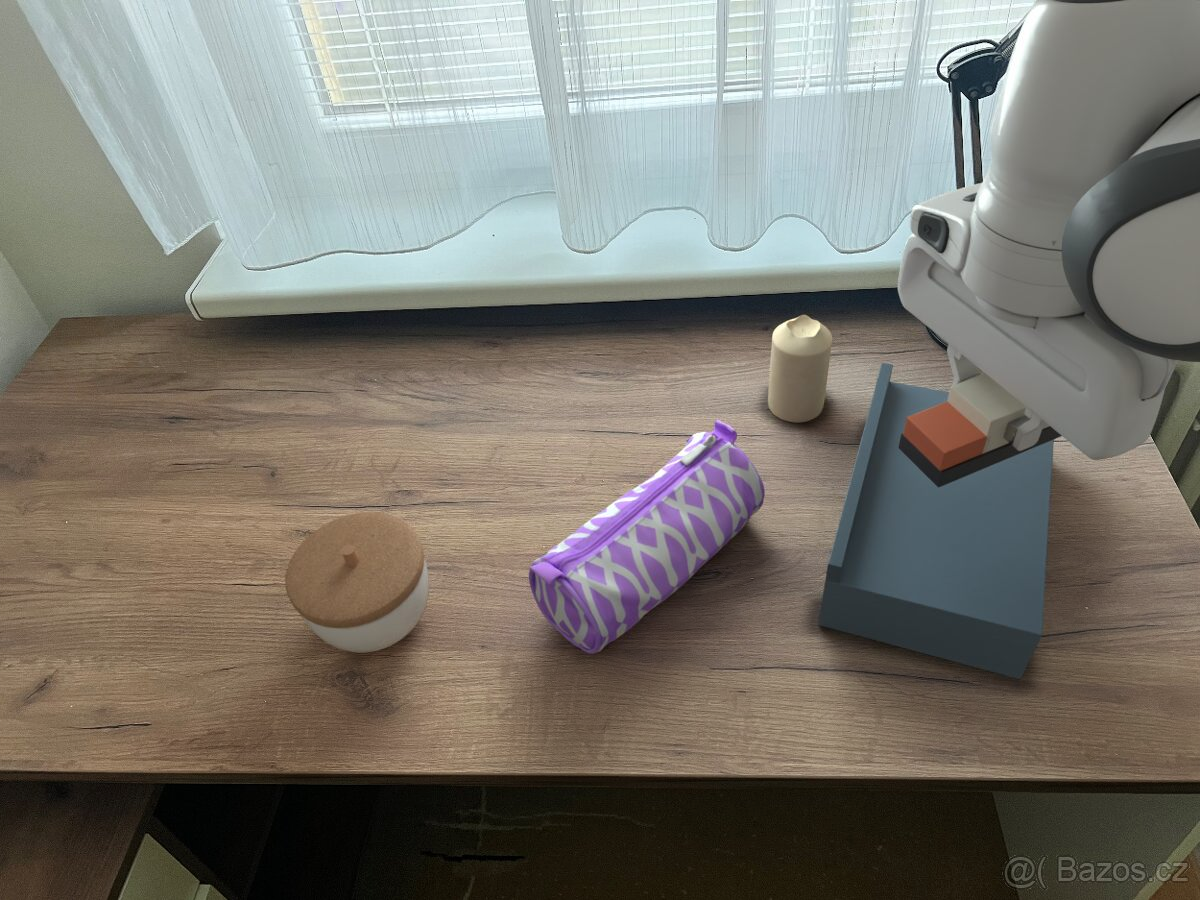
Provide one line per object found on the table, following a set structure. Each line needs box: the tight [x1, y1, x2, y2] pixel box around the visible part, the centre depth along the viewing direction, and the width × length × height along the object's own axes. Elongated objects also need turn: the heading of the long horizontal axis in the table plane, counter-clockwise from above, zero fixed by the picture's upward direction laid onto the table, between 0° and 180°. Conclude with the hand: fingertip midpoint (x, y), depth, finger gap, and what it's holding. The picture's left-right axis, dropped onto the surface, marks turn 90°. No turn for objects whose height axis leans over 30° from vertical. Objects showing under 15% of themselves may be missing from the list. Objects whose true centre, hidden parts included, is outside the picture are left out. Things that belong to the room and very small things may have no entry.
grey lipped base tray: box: [817, 362, 1055, 680], centre depth 72 cm, size 15×24×8 cm, turn 158°
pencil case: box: [528, 419, 766, 655], centre depth 72 cm, size 22×9×10 cm, turn 136°
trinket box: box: [284, 511, 430, 653], centre depth 70 cm, size 11×11×9 cm
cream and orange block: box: [898, 373, 1063, 487], centre depth 63 cm, size 12×5×5 cm, turn 113°
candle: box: [767, 314, 833, 423], centre depth 84 cm, size 6×6×10 cm
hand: (991, 418), depth 63 cm, fingers closed on cream and orange block, 4 cm apart
